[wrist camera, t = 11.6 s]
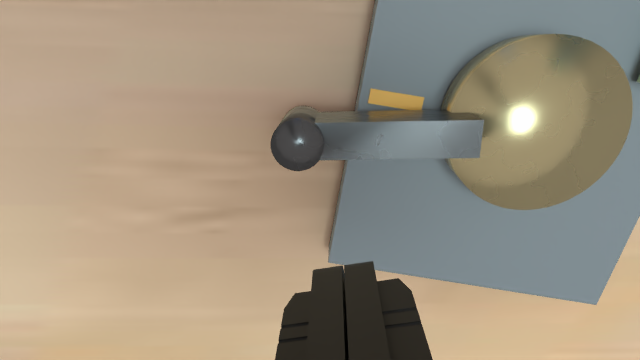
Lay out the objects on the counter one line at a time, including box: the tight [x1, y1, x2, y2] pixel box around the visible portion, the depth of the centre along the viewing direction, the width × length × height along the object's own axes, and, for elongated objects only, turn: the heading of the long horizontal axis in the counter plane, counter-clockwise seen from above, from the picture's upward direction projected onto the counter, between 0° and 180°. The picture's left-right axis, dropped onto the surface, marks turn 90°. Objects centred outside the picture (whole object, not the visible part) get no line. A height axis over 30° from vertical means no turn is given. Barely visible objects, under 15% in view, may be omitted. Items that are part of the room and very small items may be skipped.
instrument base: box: [328, 0, 640, 305], centre depth 22 cm, size 22×18×4 cm
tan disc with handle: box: [271, 34, 633, 210], centre depth 19 cm, size 18×9×5 cm, turn 91°
